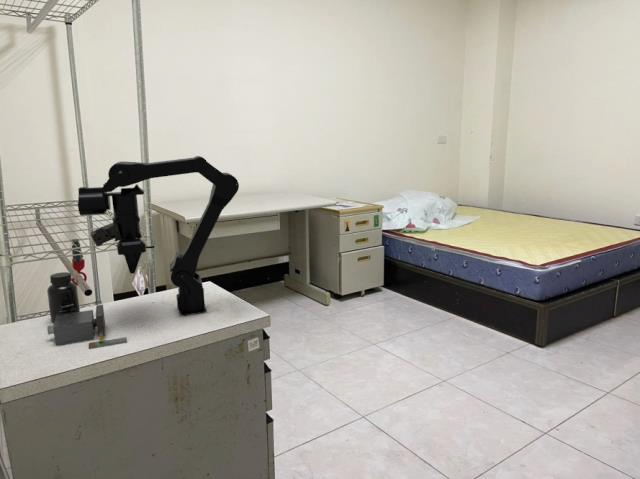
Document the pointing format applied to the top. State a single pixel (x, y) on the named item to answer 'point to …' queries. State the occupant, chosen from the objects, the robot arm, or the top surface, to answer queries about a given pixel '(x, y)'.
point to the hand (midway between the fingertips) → (132, 273)
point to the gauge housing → (79, 330)
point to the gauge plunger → (97, 322)
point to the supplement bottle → (62, 295)
